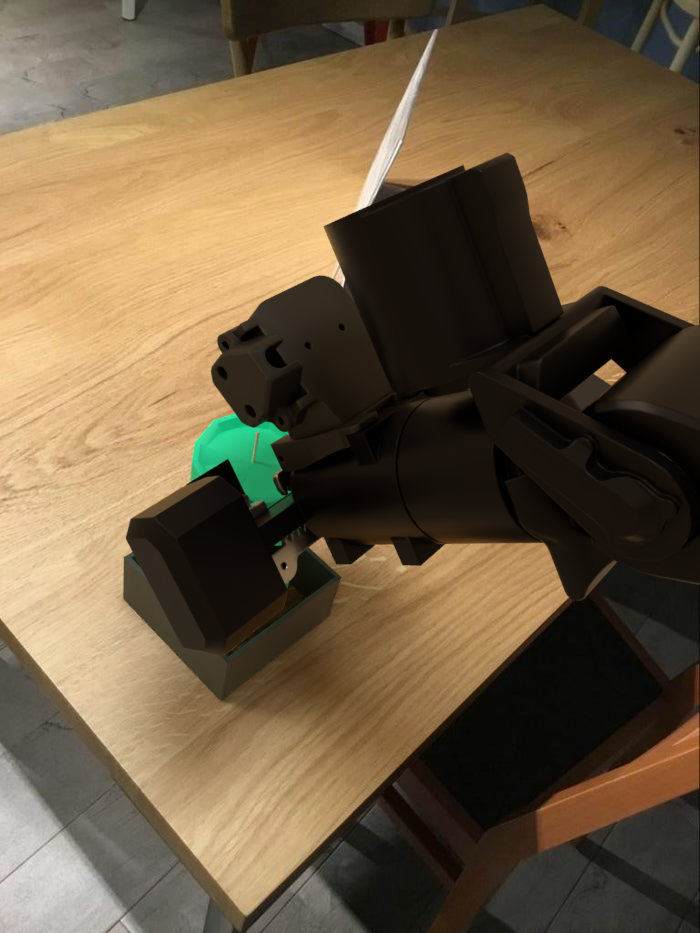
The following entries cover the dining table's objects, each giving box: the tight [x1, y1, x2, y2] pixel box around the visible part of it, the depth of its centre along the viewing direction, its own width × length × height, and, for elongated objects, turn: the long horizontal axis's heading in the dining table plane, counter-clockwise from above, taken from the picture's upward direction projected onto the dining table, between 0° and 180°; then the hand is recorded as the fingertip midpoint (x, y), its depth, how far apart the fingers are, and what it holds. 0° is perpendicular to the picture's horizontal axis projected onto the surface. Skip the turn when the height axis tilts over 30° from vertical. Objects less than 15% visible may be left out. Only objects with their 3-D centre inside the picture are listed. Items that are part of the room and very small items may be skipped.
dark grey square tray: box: [122, 547, 343, 702], centre depth 50 cm, size 9×9×4 cm
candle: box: [189, 413, 294, 589], centre depth 45 cm, size 6×6×12 cm
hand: (227, 491), depth 45 cm, fingers closed on candle, 5 cm apart
